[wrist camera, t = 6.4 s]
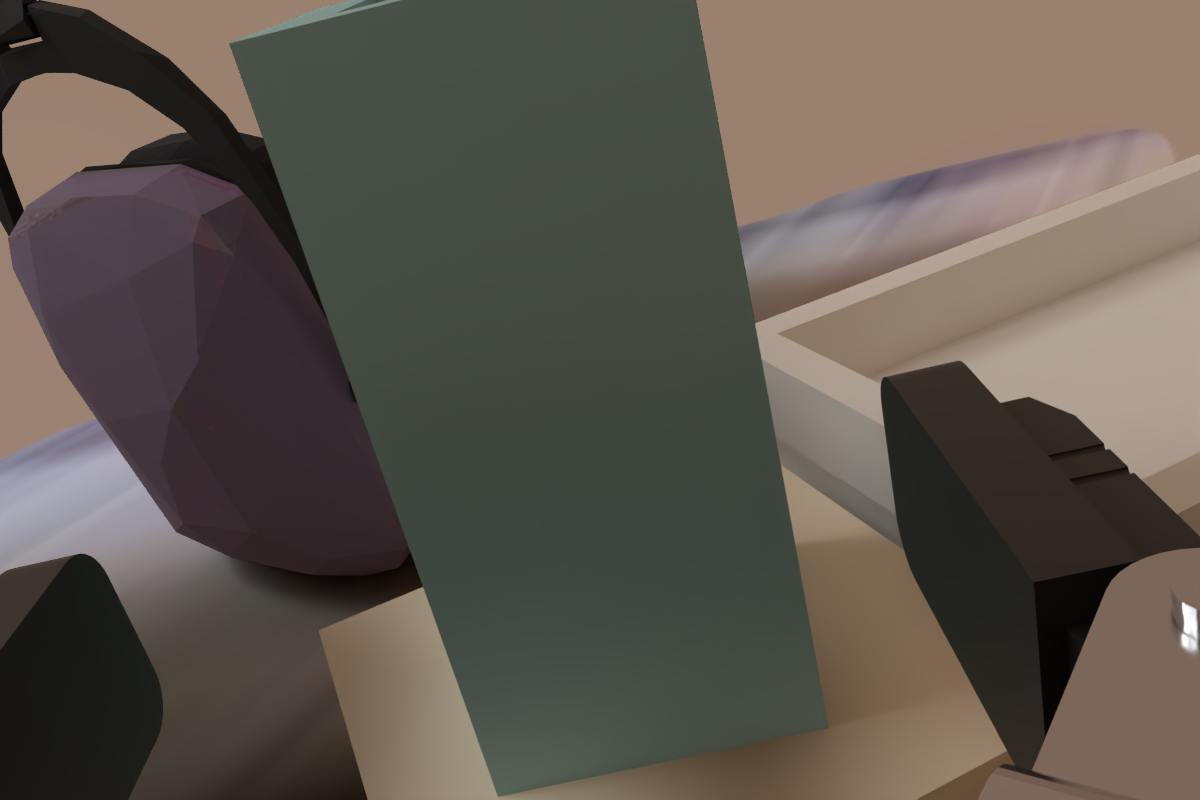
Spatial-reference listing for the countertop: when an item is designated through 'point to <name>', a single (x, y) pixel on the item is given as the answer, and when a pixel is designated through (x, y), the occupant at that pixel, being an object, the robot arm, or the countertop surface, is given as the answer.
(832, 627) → the stand
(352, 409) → the headphones
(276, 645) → the countertop surface
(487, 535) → the sleeve
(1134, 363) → the tray
